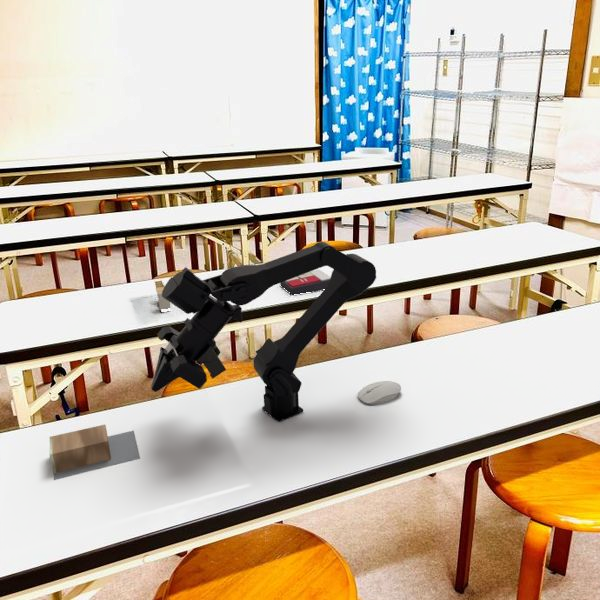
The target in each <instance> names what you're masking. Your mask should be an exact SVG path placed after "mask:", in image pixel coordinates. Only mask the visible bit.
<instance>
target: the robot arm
mask: <svg viewBox="0 0 600 600" xmlns="http://www.w3.org/2000/svg"><path fill="white" fill-rule="evenodd" d="M323 267H328V268H331V269H333V270H332V271H331V275H330V277H331V278H330V281H329V284H328V286H327V288H326V289H325V290H322V292H321V293H320V294H319V295H318V297H317V298H316V299H315V300H314V301H313V302H312V303H311V305H310V306H309V307H308V308H307V309H306V310H305V311H304V312H303V314H301V316H300V317H299V318H298V319H297V320H296V321H295V322H294V324H293V325H292V326H291V328H290V329H288V331H287V332H286V333H285V334H284V335H283V336H282V337H281V338H279V339H276V340H274V341H273V340H272V339H271V338H269V337H268V338H267V339H266V340H265V341H264V343H263V344H262V346H261V347H260V348H259V349H257V350H255V354H256V355H255V356H254V357H253V369H254V371H255V372H256V374H257V375H258V376H259V378H260V379H261V380H262V382H263V383H264V384H265V386H264V394H263V406H262V407H261V408H262V411H263V412H264V413H266V414H268V416H270V417H271V418H272V419H274V420H275V421H276V422H280V423H281V422H282V421H285V420H287V419H289V418H292V417H294V416H296V415H300V414H302V413H304V408H302V407H301V406H300V404H299V403H300V402H299V392H300V389H301V387H302V381H301V380H300V379H299V378H298V377H297V375H296V374H295V373H294V371H295V369H296V367H297V364H298V361H299V358H300V356H301V355H300V354H301V353H302V352H303V351H304V349H305V348H307V346H308V345H310V342H312V341H313V339H314V338H315V337H316V336H317V335H318V334H319V333H320V331H322V329H323V328H324V327H325V326H326V325H327V324H328V322H330V321H331V319H332V318H333V317H334V316H335V314H336V313H337V312H338V311H339V310H340V309H341V308H342V306H343V305H344V304H345V303H346V302H348V300H351V299H354V298H356V297H358V296H360V295H362V294H363V293H364V292H365V291H366V290H368V289H369V287H371V286H372V285H373V284H374V282H376V279H377V269H376V266H375V265H374V263H372V262H370V261H369V260H367V259H365V258H363V257H362V256H360V255H359V254H355V253H347V254H345V253H344V252H342V251H339V250H338V249H337V248H335V247H334V246H332V245H331V244H329V243H327V242H325V241H318V242H316V243H315V244H313V245H311V246H307V247H306V248H303V249H300V250H298V251H294V252H292V253H289V254H286V255H284V256H281V257H278V258H276V259H273V260H271V261H268V262H264V263H260V264H245V265H239V266H234V267H233V266H232V267H230V268H229V267H228V268H227V269H225V270H223V272H222V273H221V274H218V275H214V276H212V277H209V278H204V279H201V278H200V277H198V276H196V275H195V274H194V272H193V271H191V269H189V268H187V267H184V268H183V269H182V270H181V271H179V272H177V273H176V274H174V275H173V276H172V277H170V278H169V279H168V280H167V282H166V283H165V284H164V285H165V287H164V289H163V291H162V297H163V298H165V299H166V300H168V301H169V302H170V304H172V305H173V306H175V307H176V308H178V309H180V310H181V311H182V312H184V313H185V314H189V315H190V314H193V315H192V317H191V319H190V318H188V317H186V319H185V320H184V321H183V323H184V324H185V326H184V328H182V330H181V331H178V330H177V329H174V328H173V327H171V325H167V326H163V327H162V328H161V329H160V330H159V332H157V334H156V335H157V337H158V340H160V341H164V340H165V341H166V342H168V344H167V345H166V347H162V346H161V347H160V348H159V354H158V360H157V363H156V367H155V371H154V374H153V380H152V382H151V387H150V388H151V391H153V392H155V393H157V392H158V391H160V390H162V389H163V388H165V387H166V386H167V385H169V384H171V383H172V382H173V381H175V380H176V379H179V378H180V379H182V380H183V381H185V382H187V383H189V384H191V386H194V387H195V388H197V389H199V390H200V389H201V388H203V386H204V385H205V384H206V383H207V382H208V379H207V373H206V371H208V373H209V376H210V377H211V379H212V380H213V379H215V378H217V377H218V376H219V375H221V374H223V373H224V372H225V371H227V369H226V367H225V365H224V364H223V362H222V361H221V359H220V357H219V356H220V354H221V350H220V349H219V347H218V346H217V345H216V344H217V341H216V340H215V338H216V337H217V336H218V335H219V334H220V332H221V331H222V330H223V329H224V328H225V326H226V325H227V323H228V322H229V321H230V320H231V319H232V318H233V319H234V320H236V321H237V322H239V323H242V322H243V314H242V312H243V311H242V310H243V309H242V307H241V306H245V305H247V304H249V303H251V302H253V301H255V300H257V299H258V298H260V297H261V296H262V295H264V294H265V293H266V291H267V290H268V289H270V288H272V287H274V286H276V285H278V284H280V283H281V282H284V281H287V280H289V279H292V278H295V277H297V276H300V275H302V274H305V273H308V272H310V271H315V270H319V269H320V268H323ZM230 302H231V303H230ZM202 365H203V366H204V367H205V368H206V369H207V370H206V371H205V369H204V368H203V366H202Z"/></svg>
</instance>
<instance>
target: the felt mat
mask: <svg viewBox="0 0 600 600" xmlns="http://www.w3.org/2000/svg"><path fill="white" fill-rule="evenodd" d="M107 436H108V441H109V448H110V454H111V459H110V460H106V461H102V462H98V463H94V464H90V465H86V466H81V467H77V468H73V469H69V470H65V471H61V472H57V473H53V481H56V480H60V479H64V478H68V477H72V476H75V475H79V474H84V473H87V472H91V471H97V470H101V469H103V468H108V467H112V466H116V465H119V464H124V463H128V462H133V461H135V460H136V461H137V460H140V459H141V456H140V452H139V448H138V447H139V446H138V443H137V440H136V435H135V430H131V431H125V432H120V433H116V434H113V435H107Z"/></svg>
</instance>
